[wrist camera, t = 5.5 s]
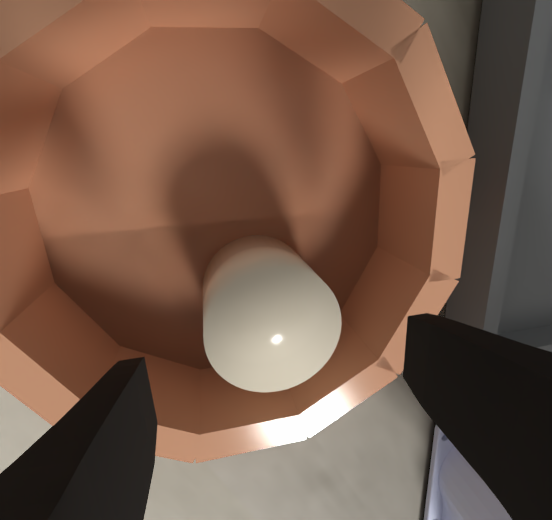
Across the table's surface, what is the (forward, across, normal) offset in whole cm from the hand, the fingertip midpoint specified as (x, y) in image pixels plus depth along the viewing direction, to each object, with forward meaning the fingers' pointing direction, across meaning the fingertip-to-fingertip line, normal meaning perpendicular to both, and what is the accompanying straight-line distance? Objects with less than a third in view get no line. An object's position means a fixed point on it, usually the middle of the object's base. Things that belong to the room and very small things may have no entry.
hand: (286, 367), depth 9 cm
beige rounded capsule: (+6, 0, 0) cm, 6 cm away
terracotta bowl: (+6, +1, -3) cm, 7 cm away
